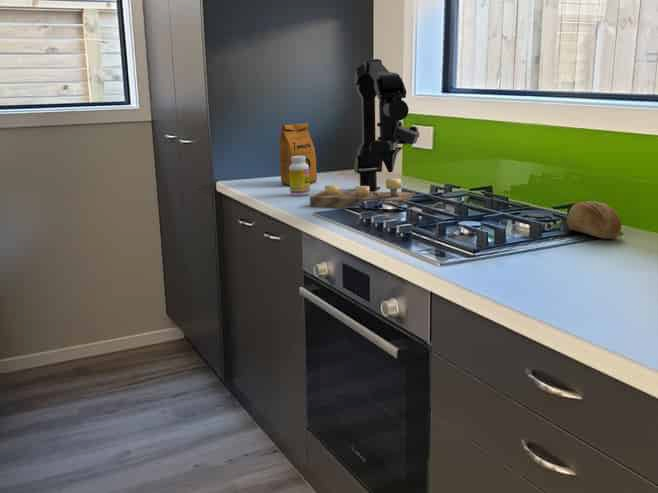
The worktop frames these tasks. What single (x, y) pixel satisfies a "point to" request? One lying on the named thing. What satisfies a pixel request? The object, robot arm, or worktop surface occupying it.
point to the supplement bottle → (299, 177)
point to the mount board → (354, 198)
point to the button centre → (362, 190)
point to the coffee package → (296, 150)
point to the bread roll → (594, 219)
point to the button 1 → (332, 189)
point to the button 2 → (393, 186)
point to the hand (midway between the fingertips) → (390, 172)
